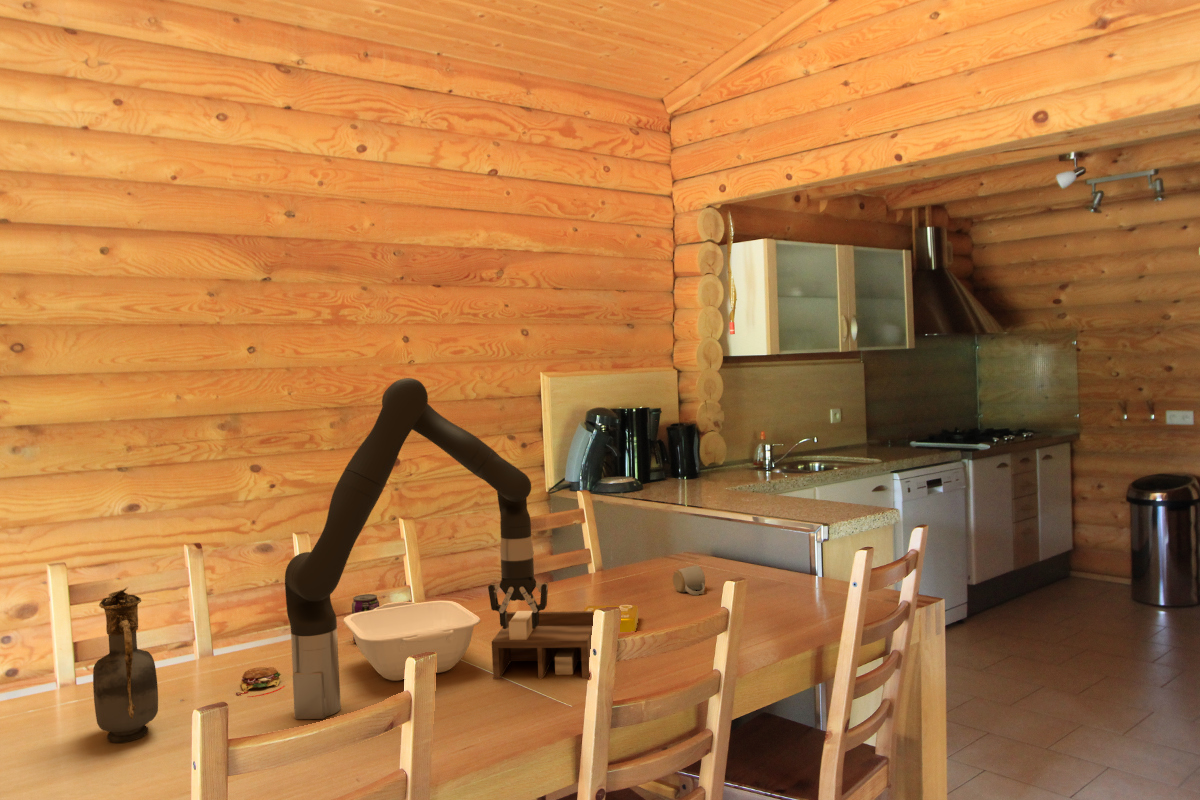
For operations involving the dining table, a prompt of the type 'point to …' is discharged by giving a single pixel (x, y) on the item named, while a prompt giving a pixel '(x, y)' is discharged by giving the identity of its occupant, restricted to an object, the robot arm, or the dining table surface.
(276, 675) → the hamburger
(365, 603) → the beverage can
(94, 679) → the pitcher
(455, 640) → the white plastic basin
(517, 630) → the cream block
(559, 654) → the walnut shelf
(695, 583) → the ceramic mug
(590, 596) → the dining table surface
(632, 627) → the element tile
